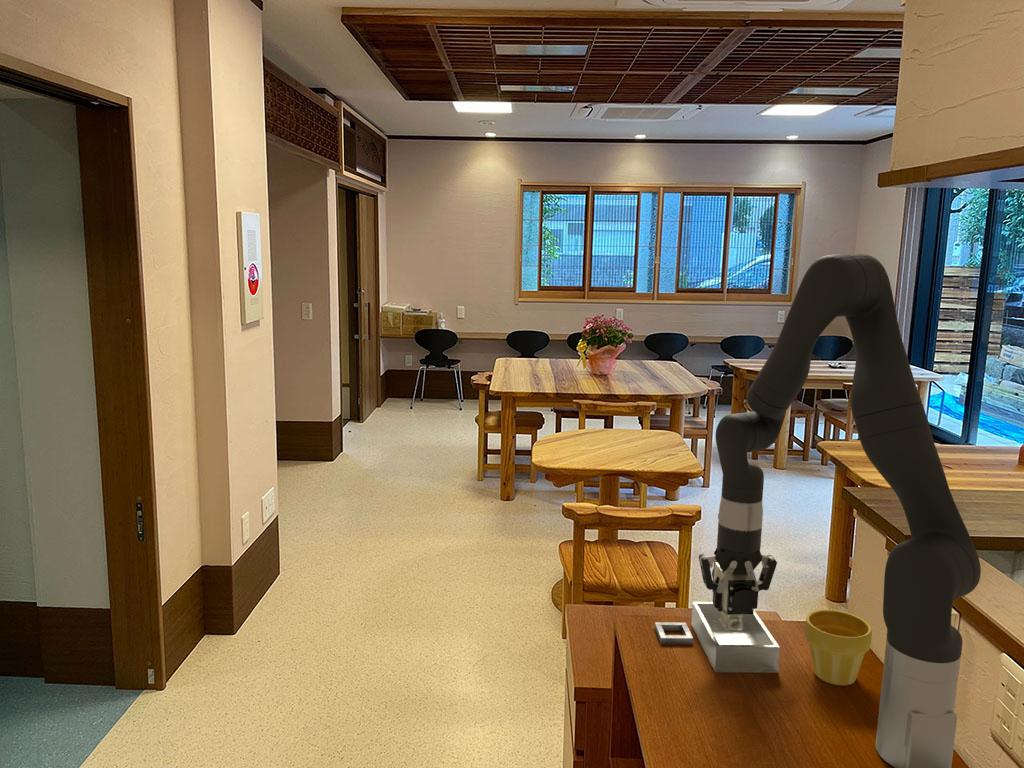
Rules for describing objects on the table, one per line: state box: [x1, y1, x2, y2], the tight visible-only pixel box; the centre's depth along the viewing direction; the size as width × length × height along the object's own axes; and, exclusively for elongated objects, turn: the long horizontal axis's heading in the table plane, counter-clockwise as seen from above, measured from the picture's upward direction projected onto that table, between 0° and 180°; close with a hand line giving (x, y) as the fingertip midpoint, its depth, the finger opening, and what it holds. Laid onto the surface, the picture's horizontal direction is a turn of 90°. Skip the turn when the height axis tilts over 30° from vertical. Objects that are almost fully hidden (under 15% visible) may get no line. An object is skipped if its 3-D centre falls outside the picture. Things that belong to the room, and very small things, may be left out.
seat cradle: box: [690, 601, 781, 674], centre depth 135 cm, size 17×11×5 cm, turn 0°
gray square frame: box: [654, 621, 694, 645], centre depth 140 cm, size 6×6×1 cm
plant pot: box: [804, 609, 873, 687], centre depth 126 cm, size 10×10×10 cm
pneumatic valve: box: [711, 561, 759, 631], centre depth 134 cm, size 6×12×12 cm, turn 2°
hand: (734, 609), depth 134 cm, fingers closed on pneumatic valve, 5 cm apart
